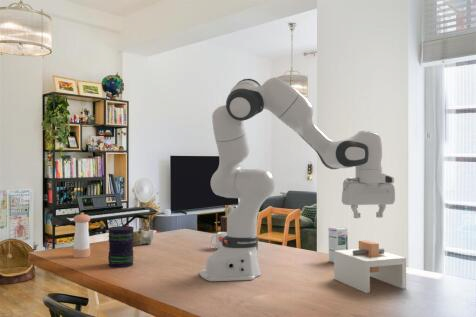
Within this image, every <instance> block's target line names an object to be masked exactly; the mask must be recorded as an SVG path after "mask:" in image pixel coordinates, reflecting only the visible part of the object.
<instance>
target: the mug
mask: <svg viewBox="0 0 476 317" xmlns="http://www.w3.org/2000/svg"><path fill="white" fill-rule="evenodd" d="M226 235H227V231H219V232H217V233H216V234H213V235H212V236H211V238H210V243H211V245H212V246H213V247H216V248H217V250H218V249H219V248H220V247H221V246H222V242H220V241H219V236H222V237H225V236H226ZM214 237H215V244H214V243H213V240H214Z"/></svg>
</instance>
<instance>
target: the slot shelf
mask: <svg viewBox="0 0 476 317" xmlns="http://www.w3.org/2000/svg"><path fill="white" fill-rule="evenodd" d="M365 254H369V251H368V250H359V248H353V249H348V250H337V251H334V263H333V279H334V280H336V281H338V282H341V283H343V284H345V285H346V286H349V287H352V288H353V289H356V290H359V291H360V292H362V293H365V294H367V293H368V294H369V293H371V284H370V283H371V278H374V279H376V280H379V281H382V282H383V283H387V284H389V285H392V286H394V287H396V288H400V289H404V290H405V289H407V257H405V256H401V255H397V254H393V253H390V252H386V251H385V248H383V247H382V248H379V257H373V258H369V257H366V256H362V255H365ZM378 266H379V272H373V273H371V272H370V267H378ZM370 277H371V278H370Z"/></svg>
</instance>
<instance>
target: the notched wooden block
mask: <svg viewBox="0 0 476 317" xmlns="http://www.w3.org/2000/svg"><path fill="white" fill-rule="evenodd" d="M379 244H380V243H377V242H373V241H370V240H366V239H365V240H358V249H359V250H368V251H369V254H365V255H362V256H366V257H369V258H373V257H379V249H380V246H379ZM370 272H371V273H373V272H379V266H378V267H370Z"/></svg>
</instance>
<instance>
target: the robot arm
mask: <svg viewBox="0 0 476 317" xmlns="http://www.w3.org/2000/svg"><path fill="white" fill-rule="evenodd" d="M264 110H267V111H269V112H271V113H272V114H273V115H274V116H275V117H277V118H278V120H280V121H281V122H282V123H283V124H284V125H286V126H288V127H289V128H291V130H293V131H294V133H295V132H296V134H297V135H298V136H299V137H300V138H302V140H304V141H305V142H306V143H307V144H308V145H309V147H311V148H312V149H313V150H314V151H315V153H316V154H317V156H318V157H319V159H320V161H321V163H322V164H323V165H324V167H326V168H328V169H330V170H339V169H348V168H349V169H350V168H353V167H355V168H354V169H355V175H354V176H355V177H346V178H345V179H344V180H343V182H342V192H341V203H342V204H343V205H344V206H345V205H347V206H350V209H351V210H352V212H353V218H354V219H361V213H360V212H359V210H358V209H359V206H367V205H370V206H371V205H372V206H374V205H377V206H378V211H376V212H375V217H376V218H378V219H382V218H384V214H383V213H384V212H385V210H386V206H387V205H393V204H394V203H395V201H396V191H395V185H394V183H395V178H394V177H393V176H391V175H389V174H387V173H384V172H383V168H382V159H383V145H382V144H383V143H382V138H381V136H380V135H379V134H378V133H377V132H374V131H370V130H361V131H358V132H357V133H355V135H353V136H350V137H348V138H346V139H345V138H344V139H343V140H338V141H336V140H332V139H330V138H328V137H327V136H326V135H325V134H324V133H323V132H322V131H321V130H320V129H319V128H318V127H317V126H316V125H315V124H314V122H313V115H314V110H313V106H312V104H311V103H310V102H309V100H308V99H307V98H306V97H305V96H304V95H303V94H301V92H299V91H298V90H297V89H296V88H294V87H293V86H292V85H290V83H287V82H285V81H284V80H282V79H281V78H278V77H271V78H269V79H266V81H265V82H264V83H262V85H261V84H260V83H259V82H258V81H257V80H255V79H252V78H243V79H241V80H240V81H238V82H237V83H236V84H235V85H234V86H233V87H232V88H231V90H230V92H229V94H228V95H227V97H226V102H225V104H224V105H220V106H219V107H217V108H215V109H214V111H213V112H212V115H211V116H212V117H211V118H212V129H213V134H214V136H213V137H214V139H215V142H216V144H215V145H216V147H217V152H218V157H219V164H218V167H217V169H216V171H214V173H213V174H212V175H211V176H212V177H211V179H210V187H211V190H212V192H213V193H214V194H215V195H216V196H219V197H224V198H225V199H226V198H227V199H239V203H238V206H237V207H236V208H234V209H231V210H230V212H228V214H227V217H226V232H227V235H226V236H225V237H222V236H219V241H220V242H222V246H221V247H220V248H219V249H218V248H217V250H215V251H214V252H213V253H211V254H210V255H209V256H208V257H207V260H206V264H205V269H201V270H200V271H199V276H200V277H201V278H202V279H203V280H206V281H209V282H226V281H227V282H228V281H252V280H254V279H255V278H256V277H259V276H261V275H262V273H261V269H260V265H259V260H258V247H259V239H258V238H259V237H258V234H257V229H258V228H257V226H258V215H259V211H260V209H261V207H262V205H263V204H264V202H265V201H266V200H267V199H268V198H270V197H271V196H272V194H273V193H274V191H275V187H276V183H275V182H276V181H275V178H274V176H273V175H272V173H271V172H270V171H267V170H262V169H258V168H242V166H241V163H242V162H244V161H245V160H246V159H247V157H248V156H249V155H250V154H249V153H250V148H249V143H248V137H247V134H246V129H245V125H244V121H247V120H249V119H252V118H253V117H255V116H256V115H258V114H259V113H261V112H263V111H264Z"/></svg>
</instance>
